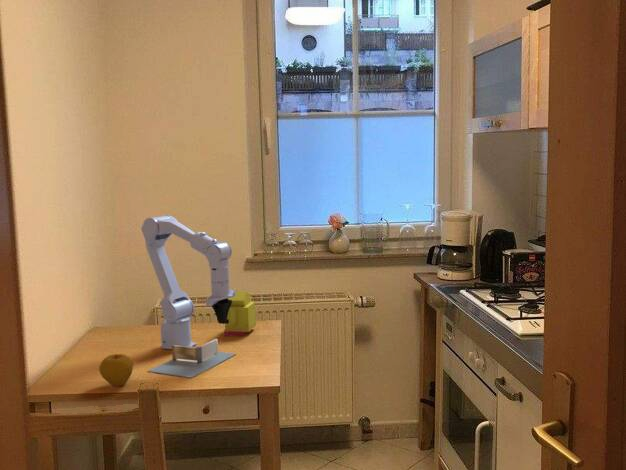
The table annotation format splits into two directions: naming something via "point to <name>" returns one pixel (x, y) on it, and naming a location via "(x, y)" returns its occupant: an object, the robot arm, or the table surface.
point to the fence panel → (184, 352)
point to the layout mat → (190, 365)
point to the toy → (240, 315)
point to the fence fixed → (207, 350)
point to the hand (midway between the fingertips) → (222, 323)
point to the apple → (116, 369)
